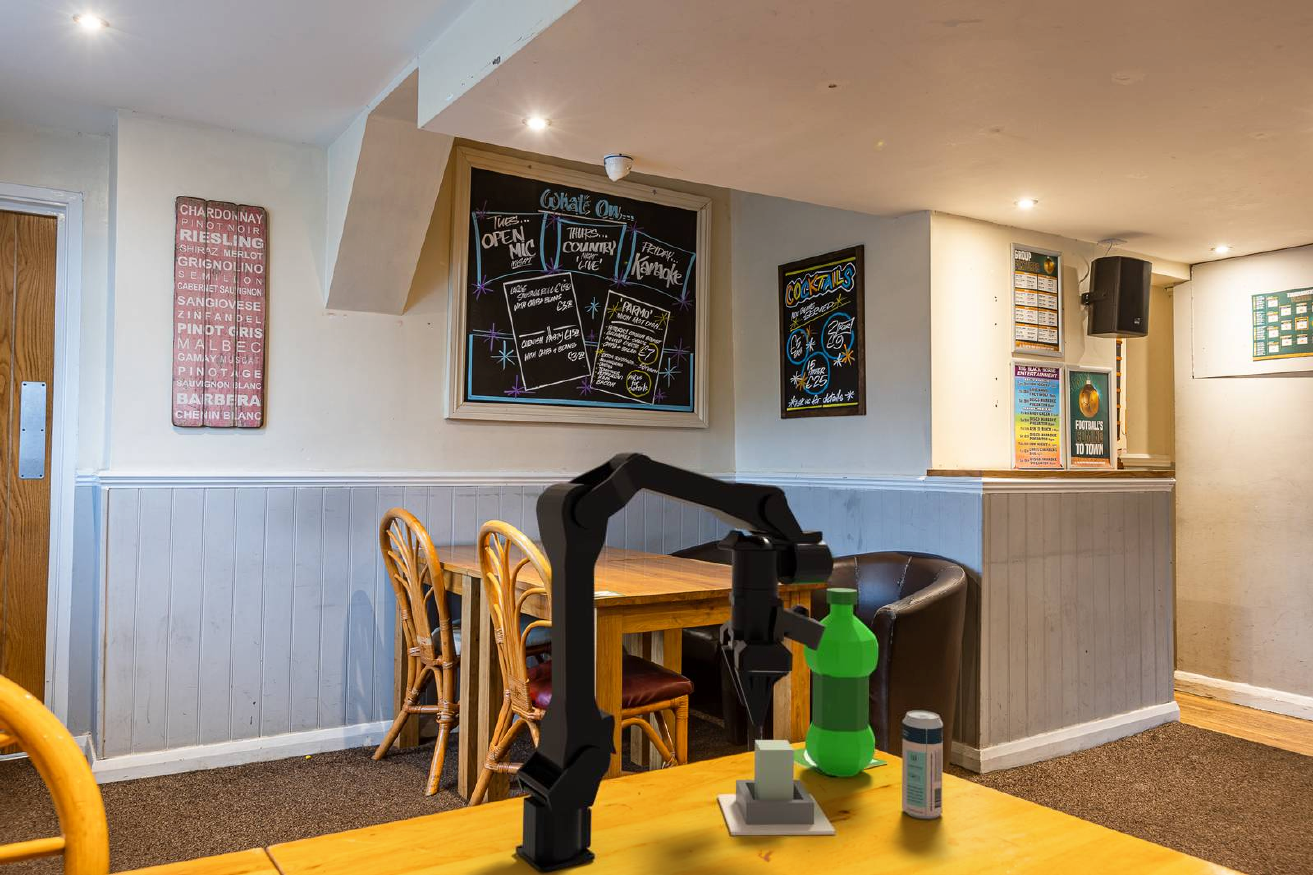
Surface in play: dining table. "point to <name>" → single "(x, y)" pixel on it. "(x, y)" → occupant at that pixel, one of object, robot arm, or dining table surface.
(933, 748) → the beer can
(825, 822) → the socket
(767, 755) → the sage block
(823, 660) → the plastic bottle
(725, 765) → the dining table surface
